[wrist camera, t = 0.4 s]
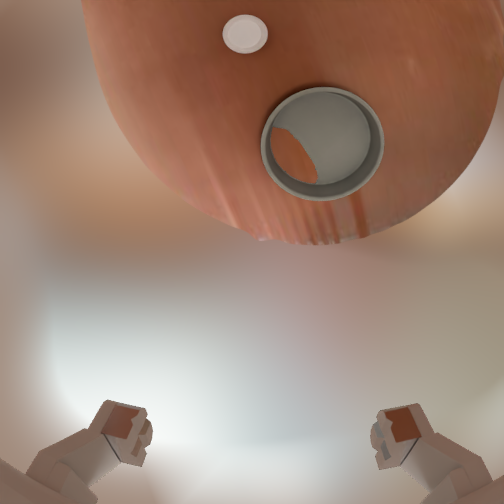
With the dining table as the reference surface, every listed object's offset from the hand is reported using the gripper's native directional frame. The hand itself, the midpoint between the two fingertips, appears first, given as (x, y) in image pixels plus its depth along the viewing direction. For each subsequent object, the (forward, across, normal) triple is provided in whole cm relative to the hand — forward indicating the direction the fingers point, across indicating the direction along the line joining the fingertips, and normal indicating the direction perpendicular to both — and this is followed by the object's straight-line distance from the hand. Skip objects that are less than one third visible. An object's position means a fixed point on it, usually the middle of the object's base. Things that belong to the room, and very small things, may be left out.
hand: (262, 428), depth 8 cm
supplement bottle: (+43, +3, -33) cm, 54 cm away
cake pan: (+53, -12, -13) cm, 56 cm away
